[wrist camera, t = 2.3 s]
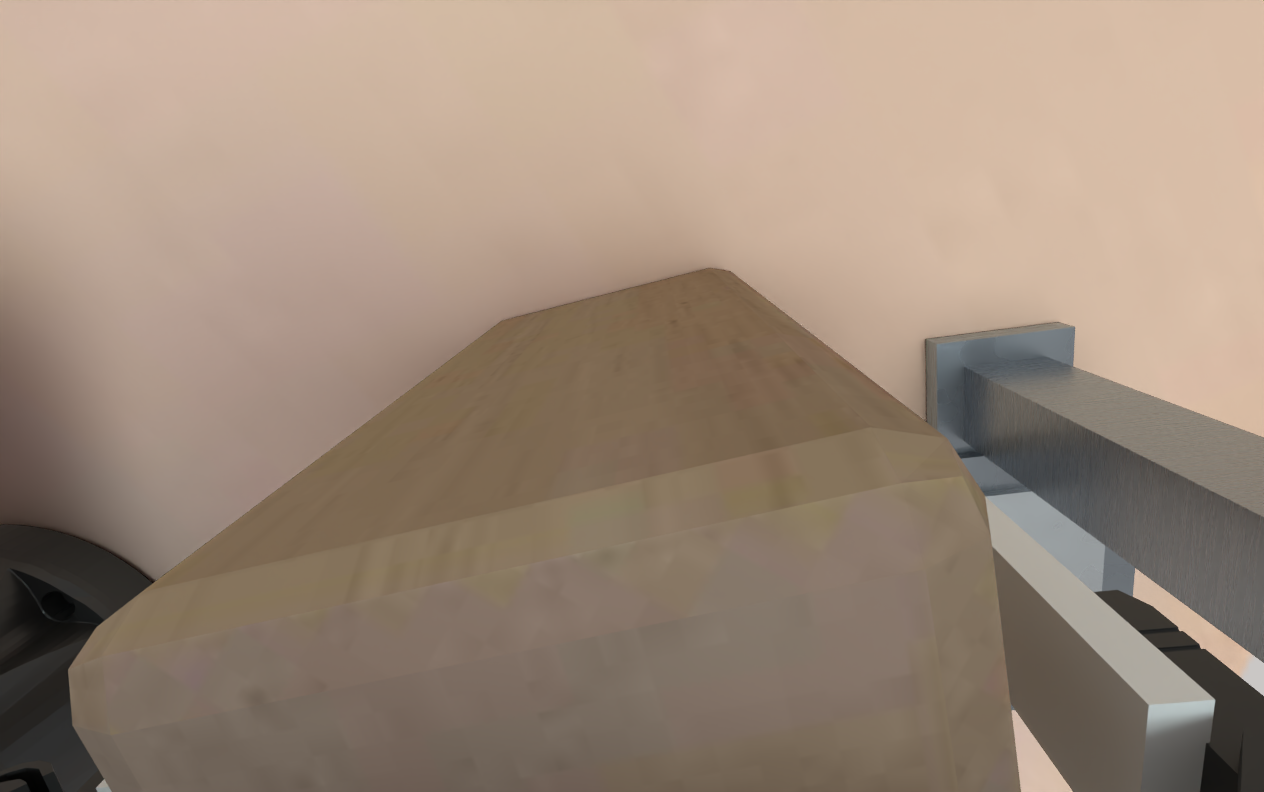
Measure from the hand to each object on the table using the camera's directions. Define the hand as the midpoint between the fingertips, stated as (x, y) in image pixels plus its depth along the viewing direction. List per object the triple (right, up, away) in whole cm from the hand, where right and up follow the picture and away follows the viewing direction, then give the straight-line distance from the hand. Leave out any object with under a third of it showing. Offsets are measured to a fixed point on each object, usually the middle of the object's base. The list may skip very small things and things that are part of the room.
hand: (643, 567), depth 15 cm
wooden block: (0, +3, +12) cm, 12 cm away
